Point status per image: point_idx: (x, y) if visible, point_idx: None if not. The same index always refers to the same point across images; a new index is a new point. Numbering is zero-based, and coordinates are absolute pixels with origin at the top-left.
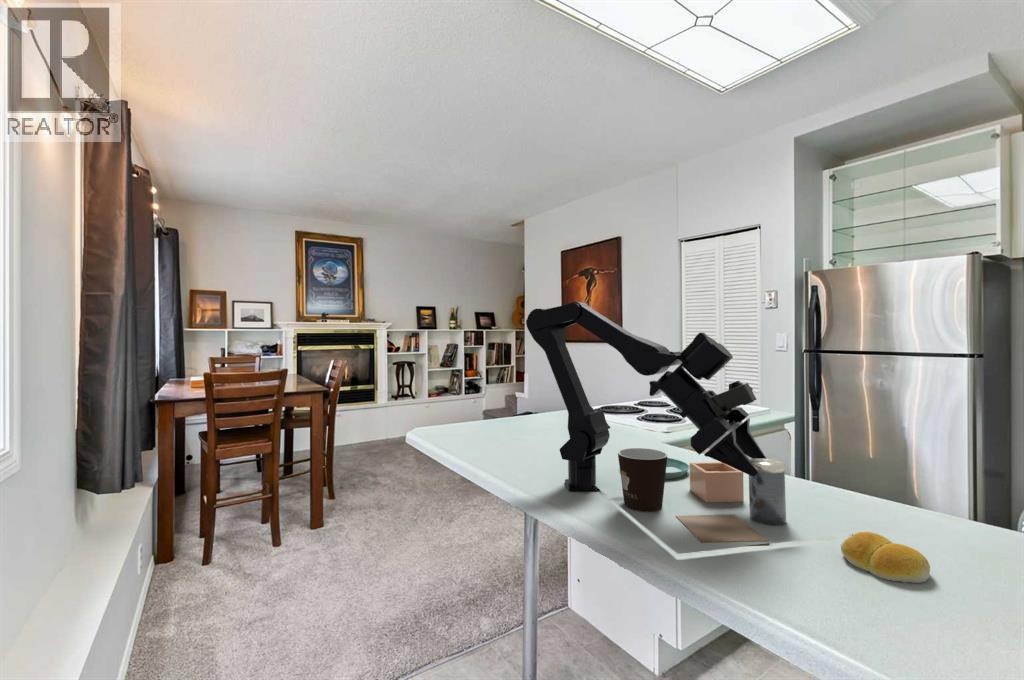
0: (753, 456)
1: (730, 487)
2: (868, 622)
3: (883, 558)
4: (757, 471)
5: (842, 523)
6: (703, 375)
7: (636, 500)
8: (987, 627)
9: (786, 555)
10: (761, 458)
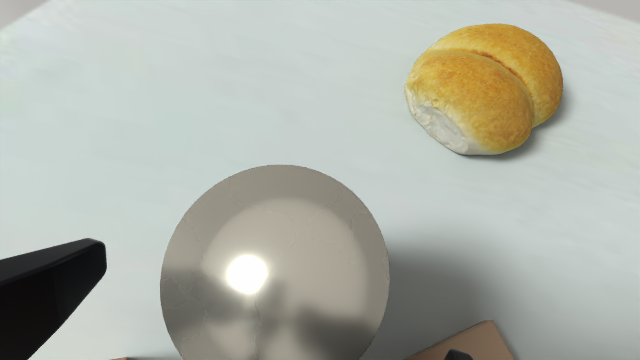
0: (46, 326)
1: None
2: None
3: (558, 89)
4: (464, 353)
5: (239, 108)
6: None
7: None
8: (634, 41)
9: (527, 283)
10: (160, 282)
